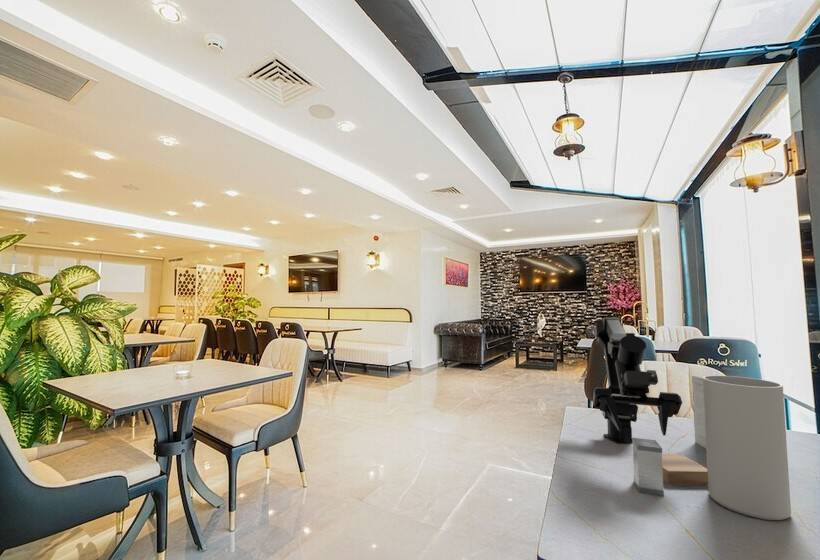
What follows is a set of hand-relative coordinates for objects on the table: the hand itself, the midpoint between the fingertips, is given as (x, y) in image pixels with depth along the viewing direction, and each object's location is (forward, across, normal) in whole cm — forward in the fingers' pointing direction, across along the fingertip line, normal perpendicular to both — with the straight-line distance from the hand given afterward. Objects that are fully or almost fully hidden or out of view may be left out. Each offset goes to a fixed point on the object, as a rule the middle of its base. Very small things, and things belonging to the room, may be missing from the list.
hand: (641, 432), depth 87 cm
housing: (+11, 0, +5) cm, 12 cm away
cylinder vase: (+11, +18, +5) cm, 21 cm away
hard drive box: (-12, +26, +27) cm, 39 cm away
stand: (+3, +8, +12) cm, 15 cm away
